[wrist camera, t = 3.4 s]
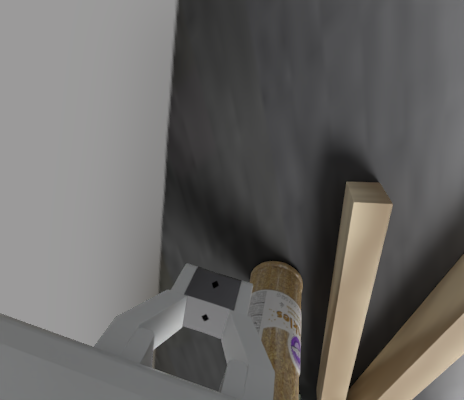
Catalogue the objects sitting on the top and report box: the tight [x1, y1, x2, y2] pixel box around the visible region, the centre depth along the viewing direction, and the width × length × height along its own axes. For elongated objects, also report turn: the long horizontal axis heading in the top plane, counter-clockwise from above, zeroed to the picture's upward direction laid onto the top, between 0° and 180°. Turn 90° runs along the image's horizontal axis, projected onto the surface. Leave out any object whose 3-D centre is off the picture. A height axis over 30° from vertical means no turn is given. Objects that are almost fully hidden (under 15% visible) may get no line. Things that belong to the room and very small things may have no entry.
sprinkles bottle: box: [247, 261, 303, 400], centre depth 17 cm, size 5×5×13 cm
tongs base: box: [346, 254, 464, 400], centre depth 21 cm, size 3×27×3 cm, turn 169°
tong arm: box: [316, 182, 393, 400], centre depth 21 cm, size 2×24×3 cm, turn 4°
